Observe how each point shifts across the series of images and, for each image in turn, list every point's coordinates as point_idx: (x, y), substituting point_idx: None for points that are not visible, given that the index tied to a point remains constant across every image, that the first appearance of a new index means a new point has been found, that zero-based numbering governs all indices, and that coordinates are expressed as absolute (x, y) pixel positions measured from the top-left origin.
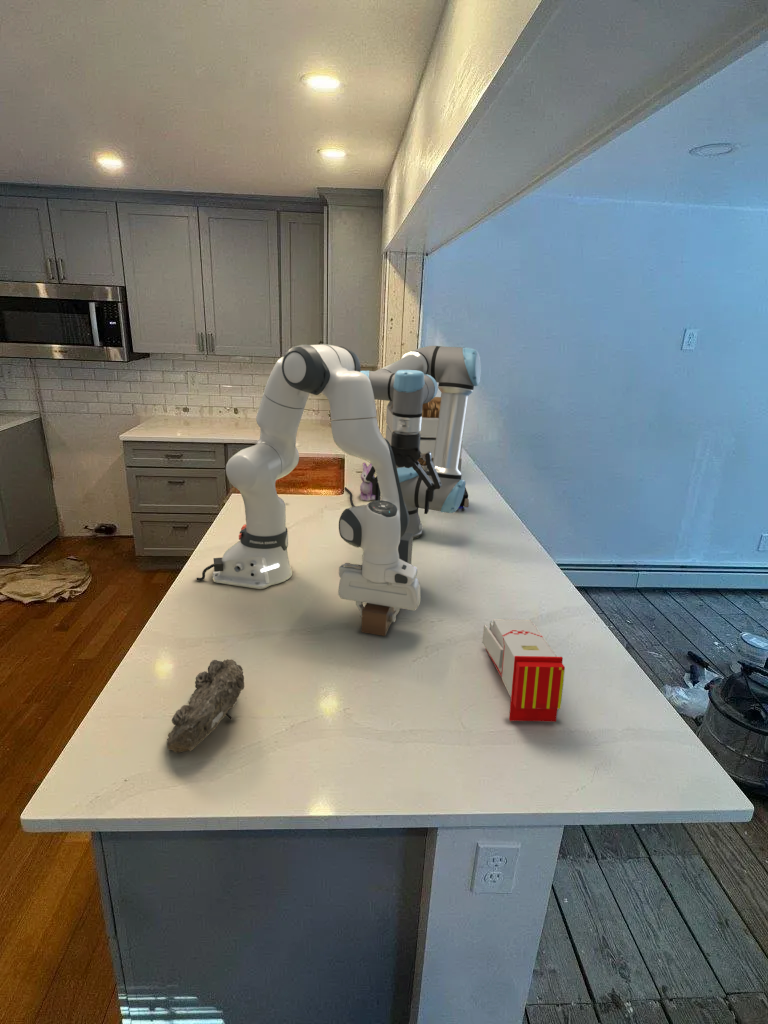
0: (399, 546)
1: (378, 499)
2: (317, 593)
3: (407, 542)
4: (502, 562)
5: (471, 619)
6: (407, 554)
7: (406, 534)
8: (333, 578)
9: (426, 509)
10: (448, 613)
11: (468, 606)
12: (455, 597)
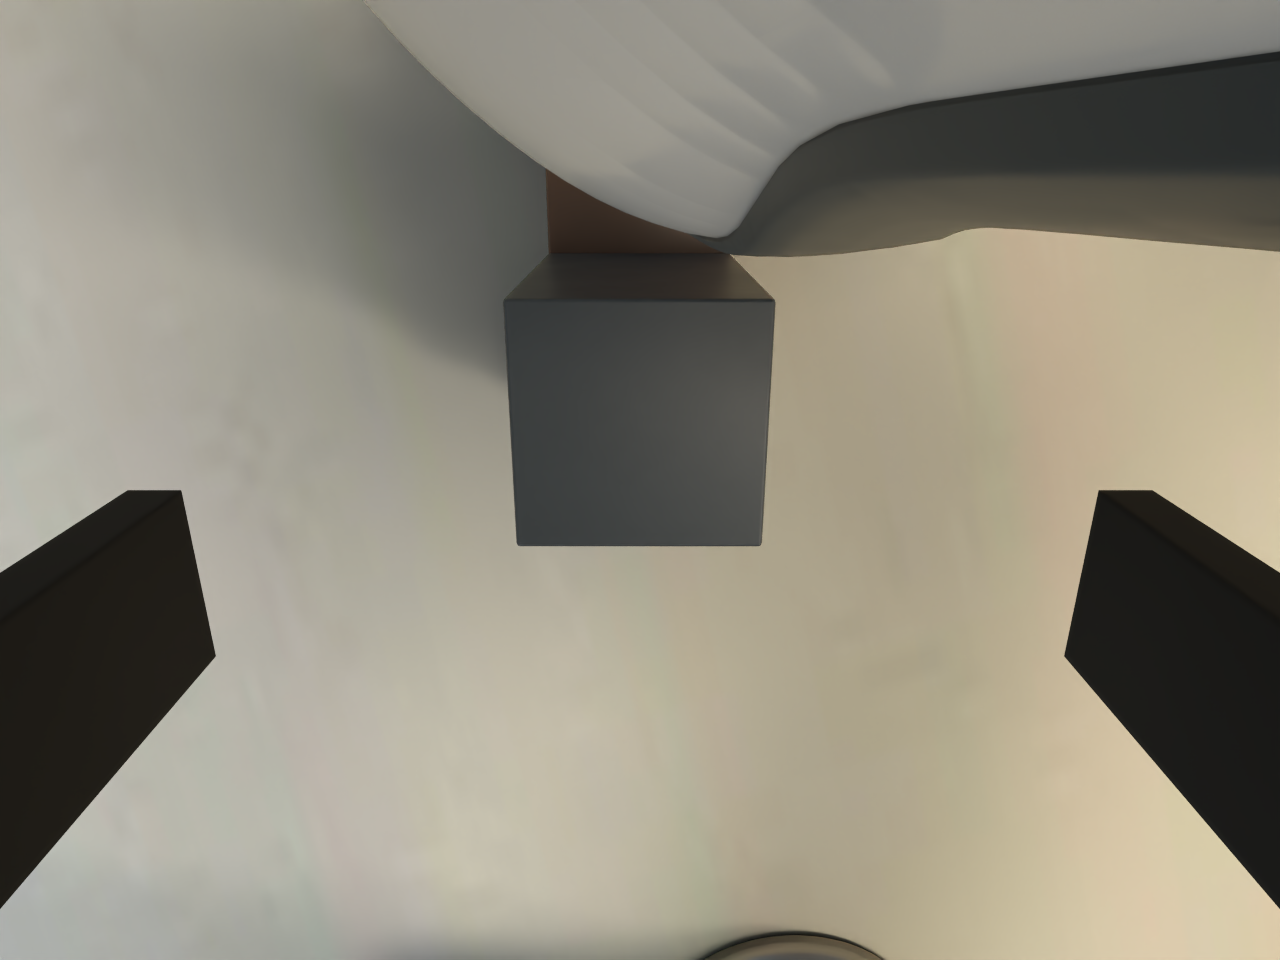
0: (617, 287)
1: (1184, 608)
2: None
3: (520, 295)
4: (105, 845)
5: (25, 6)
6: (529, 274)
7: (577, 478)
8: (1106, 297)
9: (84, 528)
10: (201, 41)
11: (107, 198)
12: (228, 300)
